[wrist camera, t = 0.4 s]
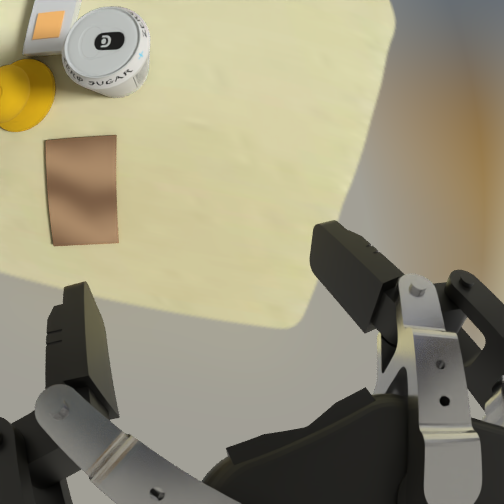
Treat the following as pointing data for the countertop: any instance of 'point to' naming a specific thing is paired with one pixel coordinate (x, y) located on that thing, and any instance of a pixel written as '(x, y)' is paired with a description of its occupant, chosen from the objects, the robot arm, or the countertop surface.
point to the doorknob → (25, 94)
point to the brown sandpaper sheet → (82, 190)
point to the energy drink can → (108, 51)
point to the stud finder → (50, 26)
